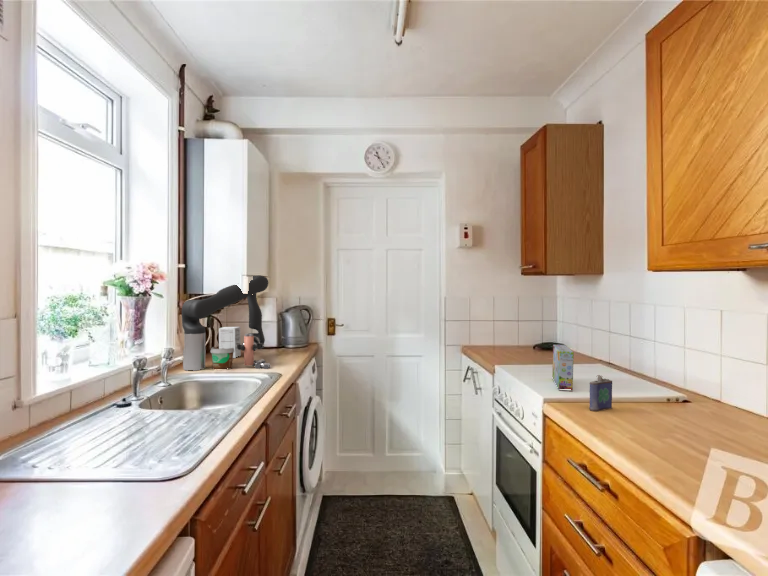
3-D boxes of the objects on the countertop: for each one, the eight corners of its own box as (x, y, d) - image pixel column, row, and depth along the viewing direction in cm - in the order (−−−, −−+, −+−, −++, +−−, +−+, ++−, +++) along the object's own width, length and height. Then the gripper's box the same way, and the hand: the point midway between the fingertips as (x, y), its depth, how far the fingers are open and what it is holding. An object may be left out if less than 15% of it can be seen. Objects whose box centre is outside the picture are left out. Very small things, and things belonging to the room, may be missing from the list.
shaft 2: (254, 368, 199) (254, 362, 199) (257, 367, 202) (257, 361, 202) (267, 369, 198) (267, 362, 198) (270, 367, 201) (270, 361, 201)
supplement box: (241, 355, 237) (241, 326, 237) (235, 358, 228) (235, 328, 228) (224, 355, 237) (224, 326, 237) (218, 358, 228) (218, 328, 228)
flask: (594, 412, 128) (594, 377, 128) (586, 409, 131) (586, 375, 131) (614, 408, 132) (614, 375, 132) (605, 406, 135) (605, 373, 135)
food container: (204, 369, 196) (204, 348, 196) (213, 367, 202) (213, 346, 202) (226, 370, 193) (226, 349, 193) (234, 368, 199) (234, 347, 199)
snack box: (574, 392, 153) (574, 351, 153) (558, 391, 155) (558, 351, 155) (565, 380, 174) (565, 344, 174) (551, 379, 175) (551, 343, 175)
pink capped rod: (242, 365, 200) (242, 334, 200) (249, 363, 204) (249, 333, 204) (248, 365, 198) (248, 334, 198) (255, 364, 202) (255, 333, 202)
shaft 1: (256, 366, 204) (256, 360, 204) (251, 366, 205) (251, 360, 205) (265, 364, 210) (265, 358, 210) (260, 364, 211) (260, 358, 211)
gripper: (237, 336, 213) (232, 340, 196) (266, 335, 216) (263, 340, 200) (237, 351, 213) (232, 356, 197) (266, 350, 216) (263, 355, 200)
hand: (248, 348), depth 198 cm, fingers closed on pink capped rod, 4 cm apart
